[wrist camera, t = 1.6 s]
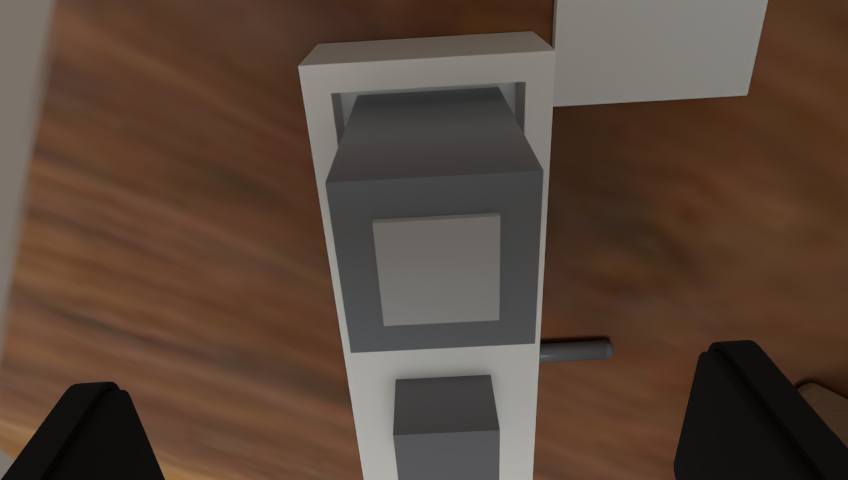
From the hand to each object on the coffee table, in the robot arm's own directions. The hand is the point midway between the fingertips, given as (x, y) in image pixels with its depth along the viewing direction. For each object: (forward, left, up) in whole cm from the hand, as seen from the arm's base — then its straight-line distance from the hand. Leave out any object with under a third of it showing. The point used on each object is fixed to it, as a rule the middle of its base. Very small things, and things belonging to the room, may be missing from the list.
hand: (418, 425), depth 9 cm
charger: (-1, 0, -13) cm, 13 cm away
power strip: (-3, +6, -15) cm, 17 cm away
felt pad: (-9, -5, -15) cm, 18 cm away
